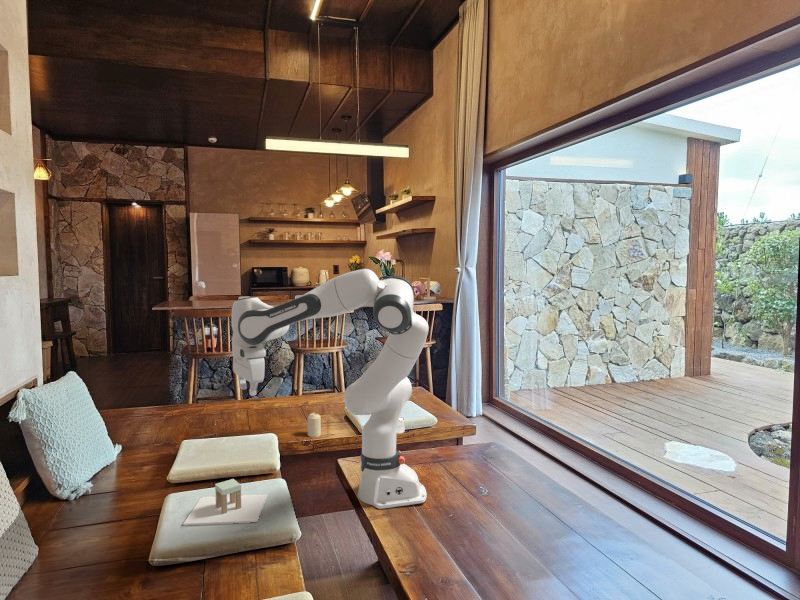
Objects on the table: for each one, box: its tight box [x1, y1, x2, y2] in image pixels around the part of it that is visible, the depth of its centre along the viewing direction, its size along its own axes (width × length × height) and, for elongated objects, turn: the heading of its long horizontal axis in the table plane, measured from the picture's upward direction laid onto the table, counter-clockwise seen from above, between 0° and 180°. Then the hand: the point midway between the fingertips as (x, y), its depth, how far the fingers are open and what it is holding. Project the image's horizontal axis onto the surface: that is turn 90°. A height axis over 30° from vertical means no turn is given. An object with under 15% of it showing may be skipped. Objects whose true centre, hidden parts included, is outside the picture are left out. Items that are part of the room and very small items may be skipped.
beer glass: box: [397, 416, 406, 434], centre depth 216 cm, size 7×7×15 cm
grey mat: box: [182, 493, 269, 527], centre depth 143 cm, size 20×16×1 cm
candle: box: [307, 412, 322, 438], centre depth 205 cm, size 6×6×10 cm
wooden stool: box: [214, 478, 242, 514], centre depth 143 cm, size 6×6×7 cm
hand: (248, 392), depth 154 cm, fingers open, 8 cm apart
